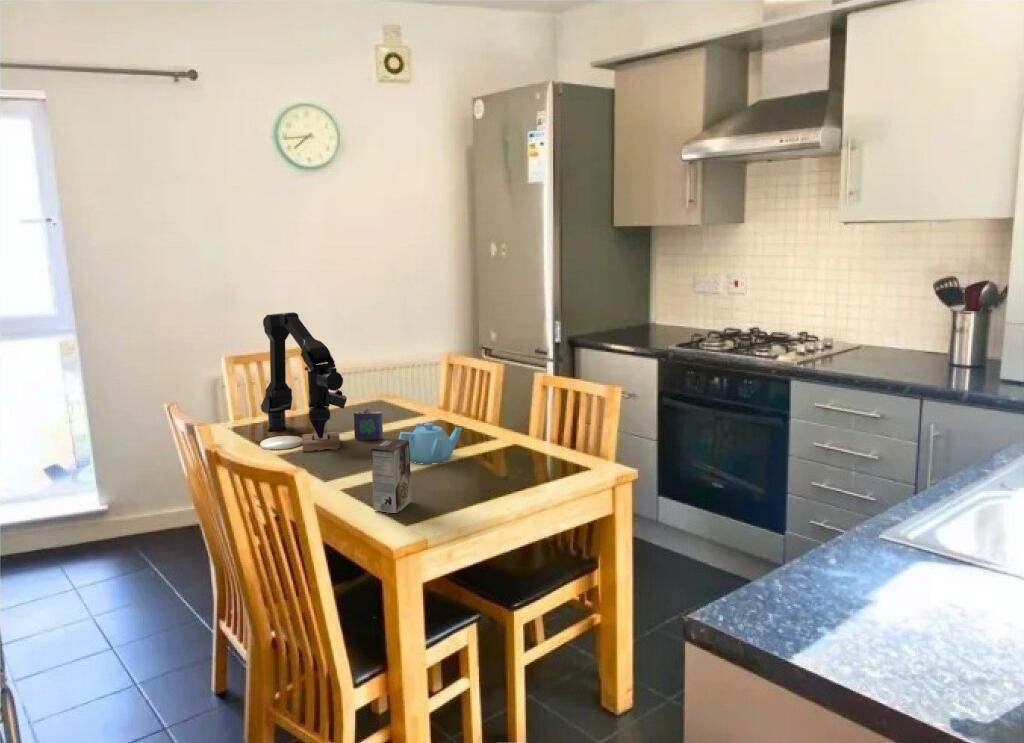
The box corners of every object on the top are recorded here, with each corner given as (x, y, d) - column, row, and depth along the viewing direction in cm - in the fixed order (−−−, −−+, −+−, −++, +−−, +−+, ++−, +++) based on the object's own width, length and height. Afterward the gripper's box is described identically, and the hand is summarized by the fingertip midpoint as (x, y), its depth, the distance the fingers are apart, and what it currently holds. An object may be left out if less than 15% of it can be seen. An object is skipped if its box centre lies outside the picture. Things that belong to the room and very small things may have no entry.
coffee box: (389, 499, 194) (386, 437, 191) (412, 501, 193) (410, 439, 189) (372, 512, 186) (369, 447, 183) (396, 514, 184) (394, 449, 181)
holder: (302, 441, 246) (302, 434, 246) (338, 439, 249) (338, 431, 248) (302, 451, 235) (302, 443, 235) (340, 448, 238) (339, 441, 238)
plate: (261, 440, 248) (261, 437, 248) (303, 437, 252) (303, 434, 252) (259, 451, 236) (259, 448, 236) (303, 447, 239) (303, 445, 239)
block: (314, 444, 244) (313, 416, 242) (327, 443, 245) (326, 415, 243) (314, 447, 240) (313, 419, 238) (327, 446, 241) (326, 418, 239)
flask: (383, 438, 250) (382, 406, 248) (381, 440, 247) (380, 408, 245) (355, 438, 250) (354, 406, 248) (353, 440, 247) (351, 408, 245)
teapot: (419, 449, 238) (418, 415, 236) (463, 453, 233) (462, 419, 231) (394, 463, 224) (392, 427, 222) (440, 468, 219) (439, 432, 217)
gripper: (345, 390, 232) (348, 440, 235) (343, 378, 249) (345, 425, 252) (307, 392, 229) (310, 443, 232) (307, 380, 247) (310, 427, 250)
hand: (320, 434), depth 242 cm, fingers open, 9 cm apart
